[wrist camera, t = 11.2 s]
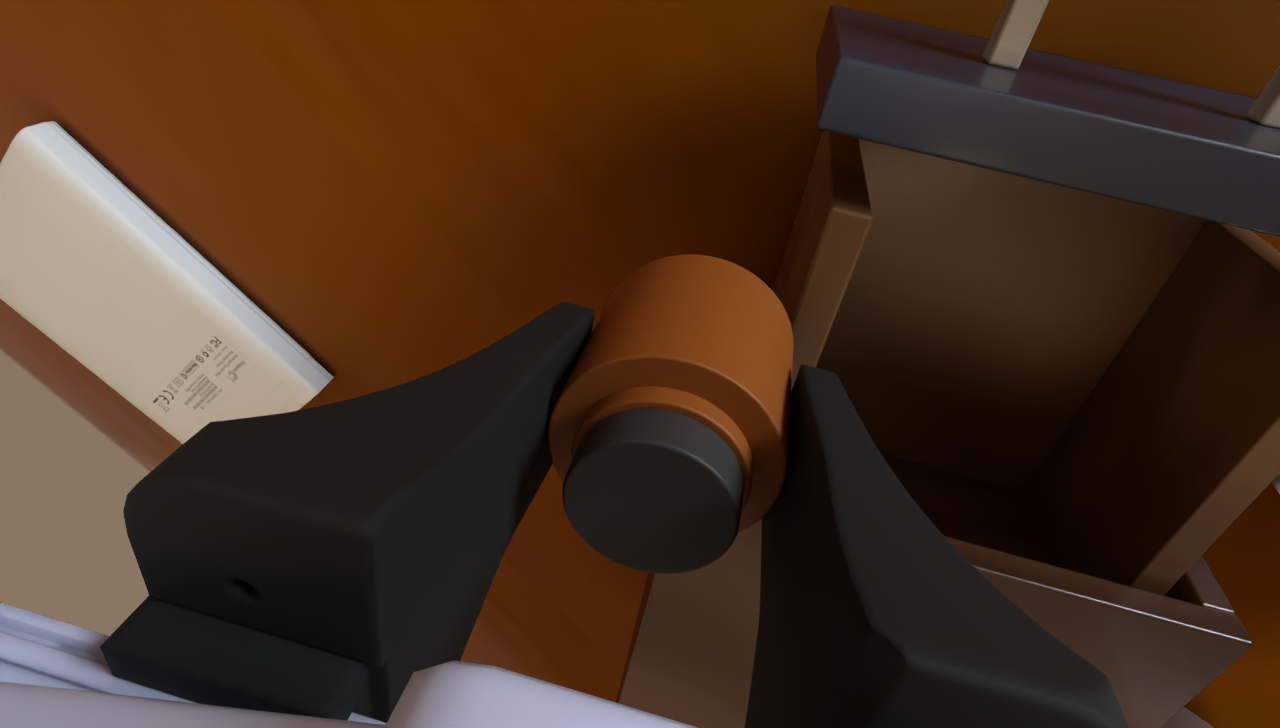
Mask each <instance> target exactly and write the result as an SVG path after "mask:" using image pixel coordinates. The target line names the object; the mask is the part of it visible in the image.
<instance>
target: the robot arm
mask: <svg viewBox="0 0 1280 728" xmlns="http://www.w3.org/2000/svg"><path fill="white" fill-rule="evenodd" d="M594 313H595V310H593V309H589V308H585V307H581V306H577V305H573V304H569V303H566V302H562V303H560V304H558V305H557V306H555V307H553V308H551V309H550V310H548V311H547V312H545V313H543V314H542V315H540V316H539V317H537V318H535V319H534V320H532V321H531V322H529V323H527V324H526V325H524V326H523V327H521V328H519V329H518V330H516V331H514V332H513V333H511V334H509V335H508V336H506V337H504V338H502V339H501V340H499V341H497V342H496V343H494V344H492V345H490V346H488V347H487V348H485V349H483V350H481V351H479V352H477V353H475V354H473V355H471V356H469V357H467V358H465V359H463V360H461V361H459V362H457V363H455V364H453V365H450V366H448V367H446V368H444V369H441V370H439V371H436V372H434V373H431V374H429V375H426V376H424V377H421V378H418V379H416V380H413V381H410V382H407V383H405V384H402V385H399V386H395V387H392V388H388V389H385V390H382V391H378V392H375V393H371V394H368V395H365V396H361V397H358V398H354V399H350V400H346V401H342V402H337V403H333V404H329V405H324V406H319V407H314V408H309V409H304V410H298V411H293V412H287V413H281V414H273V415H265V416H257V417H249V418H241V419H233V420H225V421H215V422H210V423H209V424H207V425H206V426H205V427H203V428H202V429H201V430H200V431H198V432H197V433H196V434H195V435H194V436H192V437H191V438H190V439H189V440H187V441H186V442H185V443H184V444H183V445H182V446H180V447H179V448H178V449H177V450H176V451H175V452H173V453H172V454H171V455H170V456H169V457H168V458H166V459H165V460H164V461H163V462H162V463H161V464H160V465H158V466H157V467H156V468H155V469H154V470H153V471H151V472H150V473H149V474H148V475H147V476H146V477H144V478H143V479H142V480H141V481H140V482H139V483H138V484H137V485H136V486H135V487H134V488H133V489H132V490H131V491H130V492H129V493H128V495H127V498H126V502H125V507H124V518H125V523H126V528H127V534H128V537H129V540H130V543H131V546H132V548H133V551H134V554H135V556H136V559H137V562H138V565H139V568H140V570H141V573H142V576H143V578H144V581H145V584H146V587H147V590H148V593H149V596H148V597H147V599H146V600H145V601H144V602H143V603H142V604H141V605H140V606H139V607H138V608H137V609H136V610H135V611H134V612H133V613H132V614H131V615H130V616H129V617H128V618H127V619H126V620H125V621H124V622H123V623H122V625H120V627H119V628H118V629H117V630H116V631H115V632H114V633H113V634H112V635H111V636H107V635H103V634H100V633H97V632H94V631H91V630H87V629H84V628H81V627H77V626H75V625H71V624H68V623H65V622H62V621H59V620H55V619H52V618H49V617H46V616H43V615H39V614H36V613H33V612H30V611H27V610H23V609H20V608H17V607H14V606H10V605H7V604H4V603H1V602H0V728H698V727H695V726H691V725H688V724H685V723H681V722H678V721H675V720H672V719H668V718H665V717H662V716H658V715H655V714H652V713H648V712H645V711H642V710H639V709H635V708H632V707H629V706H625V705H622V704H619V703H615V702H612V701H609V700H605V699H602V698H599V697H596V696H592V695H589V694H586V693H582V692H579V691H576V690H572V689H569V688H566V687H563V686H559V685H556V684H553V683H549V682H546V681H543V680H539V679H536V678H533V677H529V676H526V675H523V674H520V673H516V672H513V671H510V670H506V669H503V668H500V667H496V666H491V665H484V664H476V663H469V662H462V661H460V660H461V657H462V654H463V652H464V649H465V647H466V644H467V642H468V639H469V637H470V634H471V632H472V629H473V627H474V625H475V622H476V620H477V617H478V615H479V612H480V610H481V607H482V605H483V602H484V600H485V597H486V595H487V593H488V590H489V588H490V585H491V583H492V581H493V578H494V576H495V574H496V571H497V569H498V566H499V564H500V562H501V559H502V557H503V555H504V552H505V550H506V548H507V546H508V544H509V542H510V540H511V538H512V536H513V534H514V532H515V530H516V528H517V527H518V525H519V523H520V521H521V519H522V518H523V516H524V514H525V512H526V510H527V509H528V507H529V505H530V503H531V501H532V500H533V498H534V496H535V494H536V492H537V491H538V489H539V487H540V485H541V483H542V482H543V480H544V478H545V476H546V474H547V473H548V471H549V469H550V467H551V465H552V463H553V460H552V456H551V453H550V448H549V439H548V432H549V422H550V417H551V413H552V410H553V408H554V406H555V403H556V401H557V399H558V397H559V395H560V393H561V391H562V390H563V388H564V386H565V384H566V382H567V380H568V378H569V376H570V374H571V372H572V370H573V368H574V367H575V365H576V363H577V361H578V359H579V357H580V355H581V353H582V351H583V349H584V347H585V346H586V344H587V342H588V340H589V338H590V336H591V332H592V326H593V319H594ZM1272 485H1273V486H1274V487H1275V489H1276V490H1277V491H1278V492H1279V494H1280V473H1279V474H1278V475H1277V476H1276V477H1275V478H1274V480H1273V481H1272ZM745 728H1128V726H1127V723H1126V720H1125V717H1124V715H1123V712H1122V709H1121V707H1120V705H1119V702H1118V700H1117V697H1116V695H1115V692H1114V690H1113V688H1112V686H1111V684H1110V681H1109V679H1108V676H1106V675H1105V674H1104V673H1102V672H1101V671H1100V670H1098V669H1097V668H1096V667H1094V666H1093V665H1092V664H1090V663H1089V662H1088V661H1086V660H1085V659H1084V658H1082V657H1081V656H1080V655H1078V654H1077V653H1076V652H1074V651H1073V650H1072V649H1070V648H1069V647H1068V646H1066V645H1065V644H1064V643H1062V642H1061V641H1060V640H1058V639H1057V638H1056V637H1054V636H1053V635H1052V634H1050V633H1049V632H1047V631H1046V630H1045V629H1044V628H1042V627H1041V626H1040V625H1039V624H1037V623H1036V622H1035V621H1034V620H1033V619H1031V618H1030V617H1029V616H1028V615H1027V614H1026V613H1024V612H1023V611H1022V610H1021V609H1020V608H1019V607H1017V606H1016V605H1015V604H1014V603H1013V602H1011V601H1010V600H1009V599H1008V598H1007V597H1006V596H1004V595H1003V594H1002V593H1001V592H1000V591H999V590H998V589H997V588H996V587H995V586H994V585H992V584H991V583H990V582H989V581H988V580H987V579H986V578H985V577H984V576H983V575H982V574H981V573H980V572H979V571H978V570H977V569H976V568H975V567H974V566H973V565H972V564H971V563H970V562H969V561H968V560H967V559H966V558H965V557H964V556H963V555H962V554H961V553H960V552H959V551H958V550H957V549H956V548H955V547H954V546H953V545H952V544H951V543H950V542H949V541H948V540H947V539H946V538H945V537H944V535H943V534H942V533H941V532H940V531H939V530H938V529H937V528H936V526H935V525H934V524H933V523H932V522H931V520H930V519H929V518H928V517H927V516H926V514H925V513H924V512H923V511H922V510H921V508H920V507H919V506H918V505H917V504H916V502H915V501H914V500H913V499H912V497H911V496H910V495H909V493H908V492H907V491H906V489H905V488H904V487H903V485H902V484H901V482H900V481H899V480H898V478H897V477H896V475H895V474H894V472H893V471H892V470H891V468H890V467H889V465H888V464H887V462H886V461H885V459H884V458H883V456H882V455H881V453H880V451H879V450H878V448H877V447H876V445H875V443H874V442H873V440H872V438H871V437H870V435H869V433H868V432H867V430H866V428H865V426H864V425H863V423H862V421H861V419H860V417H859V416H858V414H857V412H856V410H855V408H854V406H853V404H852V403H851V401H850V399H849V397H848V395H847V393H846V391H845V389H844V387H843V386H842V384H841V382H840V380H839V378H838V376H837V375H836V373H835V372H831V371H827V370H823V369H820V368H816V367H812V366H808V365H804V364H801V366H800V369H799V372H798V374H797V377H796V380H795V382H794V385H793V388H792V391H791V402H790V420H789V438H788V456H787V470H786V478H785V481H784V484H783V488H782V490H781V492H780V494H779V496H778V498H777V500H776V501H775V503H774V504H773V506H772V507H771V508H770V510H769V511H768V512H767V513H766V514H765V515H764V516H763V517H762V530H761V581H760V611H759V626H758V634H757V641H756V649H755V657H754V665H753V672H752V680H751V687H750V694H749V701H748V708H747V715H746V722H745Z"/></svg>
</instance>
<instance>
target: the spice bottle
mask: <svg viewBox="0 0 1280 728" xmlns="http://www.w3.org/2000/svg"><path fill="white" fill-rule="evenodd" d="M793 347H794V345H793V332H792V327H791V323H790V320H789V318H788V315H787V312H786V310H785V309H784V307H783V305H782V303H781V301H780V300H779V299H778V297H777V296H776V295H775V293H774V292H773V291H772V290H771V289H770V288H769V287H768V286H767V285H766V284H765V283H764V282H763V281H762V280H761V279H759V278H758V277H757V276H756V275H754V274H753V273H751V272H750V271H748V270H746V269H745V268H743V267H741V266H739V265H737V264H734V263H732V262H730V261H727V260H723V259H720V258H717V257H711V256H706V255H694V254H688V255H675V256H670V257H665V258H661V259H658V260H655V261H652V262H650V263H648V264H646V265H644V266H642V267H640V268H639V269H637V270H636V271H634V272H633V273H631V274H630V275H629V276H628V277H627V278H626V279H624V280H623V281H622V283H621V284H620V285H619V286H618V287H617V288H616V290H615V291H614V293H613V295H612V296H611V298H610V300H609V302H608V303H607V305H606V307H605V309H604V311H603V313H602V315H601V317H600V319H599V321H598V323H597V325H596V326H595V328H594V330H593V332H592V334H591V336H590V338H589V340H588V342H587V344H586V346H585V347H584V349H583V351H582V353H581V355H580V357H579V359H578V361H577V363H576V365H575V367H574V368H573V370H572V372H571V374H570V376H569V378H568V380H567V382H566V384H565V386H564V388H563V390H562V391H561V393H560V395H559V397H558V399H557V401H556V403H555V406H554V408H553V410H552V413H551V417H550V422H549V432H548V439H549V448H550V453H551V456H552V460H553V463H554V465H555V468H556V470H557V472H558V474H559V476H560V478H561V479H562V481H563V491H562V496H563V504H564V508H565V512H566V514H567V517H568V519H569V521H570V523H571V525H572V526H573V528H574V529H575V531H576V532H577V533H578V534H579V536H580V537H581V538H582V539H583V540H584V541H585V542H586V543H587V544H588V545H589V546H591V547H592V548H593V549H594V550H595V551H597V552H598V553H600V554H601V555H603V556H604V557H606V558H608V559H610V560H612V561H614V562H616V563H618V564H621V565H623V566H626V567H629V568H632V569H635V570H639V571H643V572H649V573H656V574H678V573H686V572H690V571H694V570H698V569H700V568H703V567H706V566H708V565H709V564H711V563H713V562H715V561H716V560H717V559H719V558H720V557H721V556H722V555H723V554H724V553H725V552H727V550H728V549H729V548H730V546H731V545H732V544H733V542H734V540H735V538H736V536H737V534H738V533H739V532H741V531H743V530H745V529H747V528H749V527H750V526H752V525H753V524H754V523H756V522H757V521H758V520H760V519H761V518H762V517H763V516H764V515H765V514H766V513H767V512H768V511H769V510H770V508H771V507H772V506H773V504H774V503H775V501H776V500H777V498H778V496H779V494H780V492H781V490H782V488H783V484H784V481H785V478H786V470H787V456H788V438H789V420H790V402H791V384H792V366H793Z"/></svg>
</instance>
